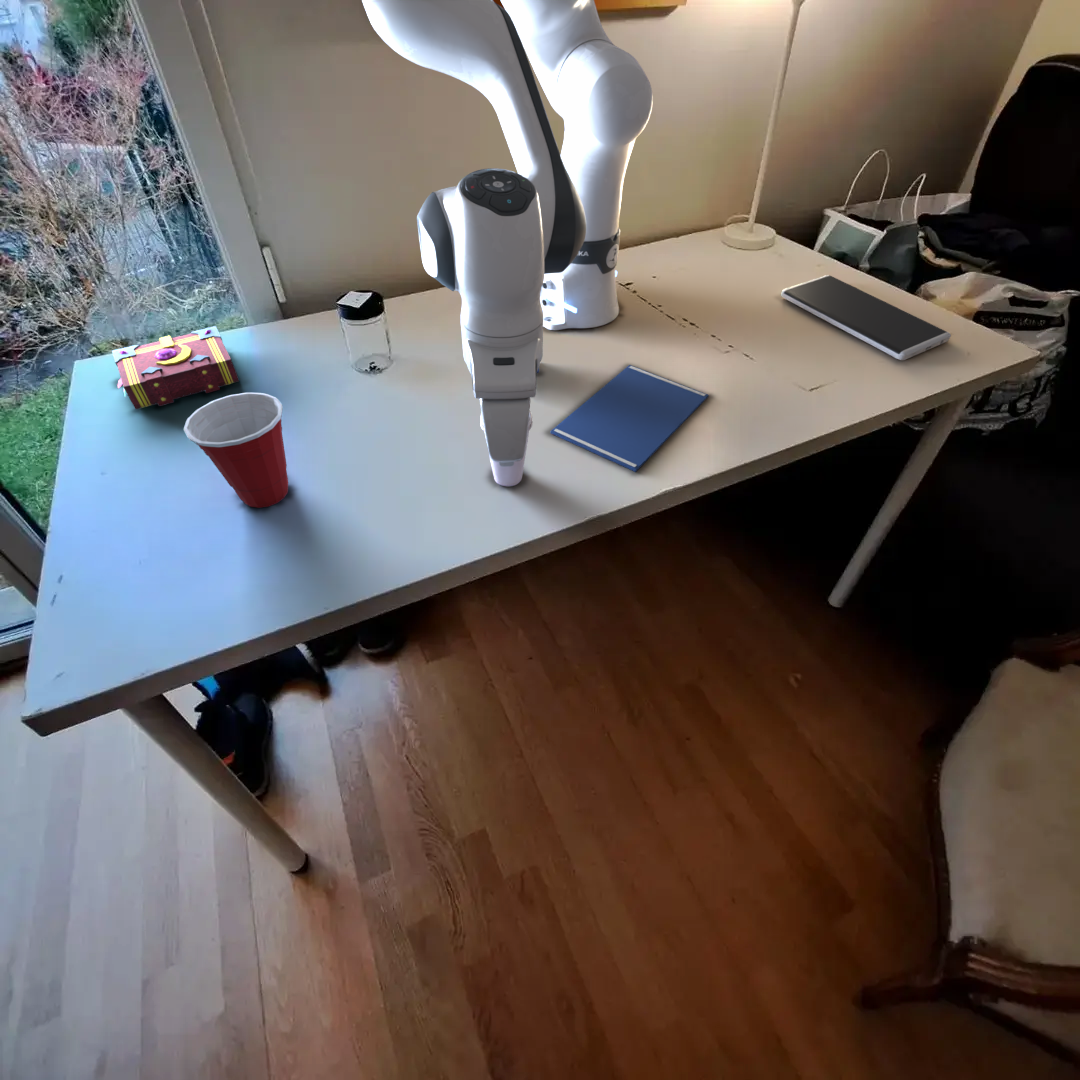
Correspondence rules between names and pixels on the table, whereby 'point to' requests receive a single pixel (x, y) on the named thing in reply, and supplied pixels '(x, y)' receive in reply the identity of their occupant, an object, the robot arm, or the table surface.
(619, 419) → the cloth
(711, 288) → the table surface
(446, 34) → the robot arm
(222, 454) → the plastic cup
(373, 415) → the table surface
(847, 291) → the smartphone
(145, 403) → the treasure chest
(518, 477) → the smoothie
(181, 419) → the table surface
